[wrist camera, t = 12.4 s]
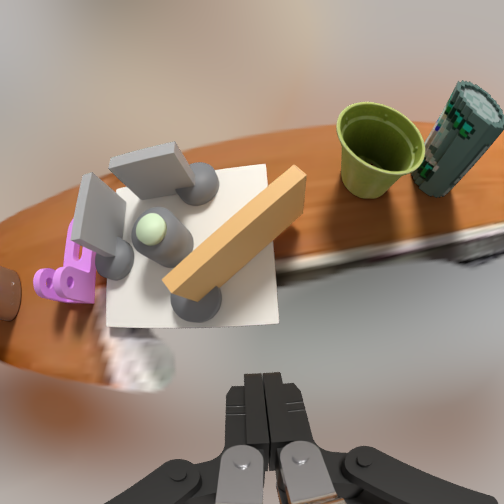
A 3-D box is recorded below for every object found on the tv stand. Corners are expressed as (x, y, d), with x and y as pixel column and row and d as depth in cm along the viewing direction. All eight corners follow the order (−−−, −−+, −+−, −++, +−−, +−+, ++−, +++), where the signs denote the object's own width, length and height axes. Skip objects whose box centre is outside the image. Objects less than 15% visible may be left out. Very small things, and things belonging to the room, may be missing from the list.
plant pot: (352, 136, 33) (364, 89, 25) (410, 177, 30) (436, 137, 22) (312, 179, 32) (317, 133, 24) (376, 228, 29) (402, 193, 21)
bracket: (94, 303, 31) (59, 295, 25) (67, 303, 32) (32, 295, 25) (103, 211, 35) (74, 189, 28) (76, 216, 36) (47, 198, 29)
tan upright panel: (195, 332, 27) (162, 332, 19) (167, 295, 28) (128, 283, 21) (314, 225, 28) (322, 189, 21) (282, 194, 30) (278, 152, 22)
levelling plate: (106, 326, 30) (53, 321, 21) (116, 192, 35) (77, 157, 26) (279, 323, 28) (275, 321, 19) (266, 167, 33) (257, 114, 24)
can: (418, 150, 31) (459, 73, 17) (452, 173, 30) (504, 106, 15) (405, 179, 30) (454, 99, 16) (442, 205, 29) (505, 139, 14)
